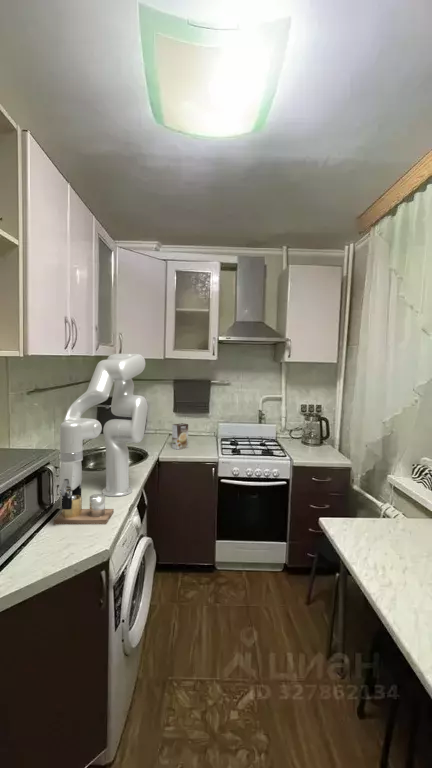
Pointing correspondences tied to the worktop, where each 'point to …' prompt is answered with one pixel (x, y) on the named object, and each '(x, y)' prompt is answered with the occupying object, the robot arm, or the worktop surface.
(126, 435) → the robot arm
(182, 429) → the coffee box
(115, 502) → the worktop surface
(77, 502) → the brass coupling
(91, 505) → the pair of light bulbs
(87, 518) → the pipe board
